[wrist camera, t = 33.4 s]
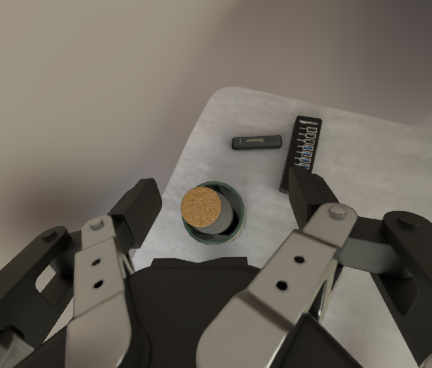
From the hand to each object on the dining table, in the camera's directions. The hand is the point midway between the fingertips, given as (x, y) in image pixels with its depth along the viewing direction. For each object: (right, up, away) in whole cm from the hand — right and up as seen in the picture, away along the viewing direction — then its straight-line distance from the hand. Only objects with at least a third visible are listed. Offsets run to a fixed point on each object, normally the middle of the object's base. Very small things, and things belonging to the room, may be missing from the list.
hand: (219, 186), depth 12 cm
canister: (+1, -6, +26) cm, 27 cm away
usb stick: (+8, +8, +29) cm, 31 cm away
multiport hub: (+15, +5, +27) cm, 31 cm away
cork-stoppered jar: (+1, -6, +26) cm, 27 cm away
